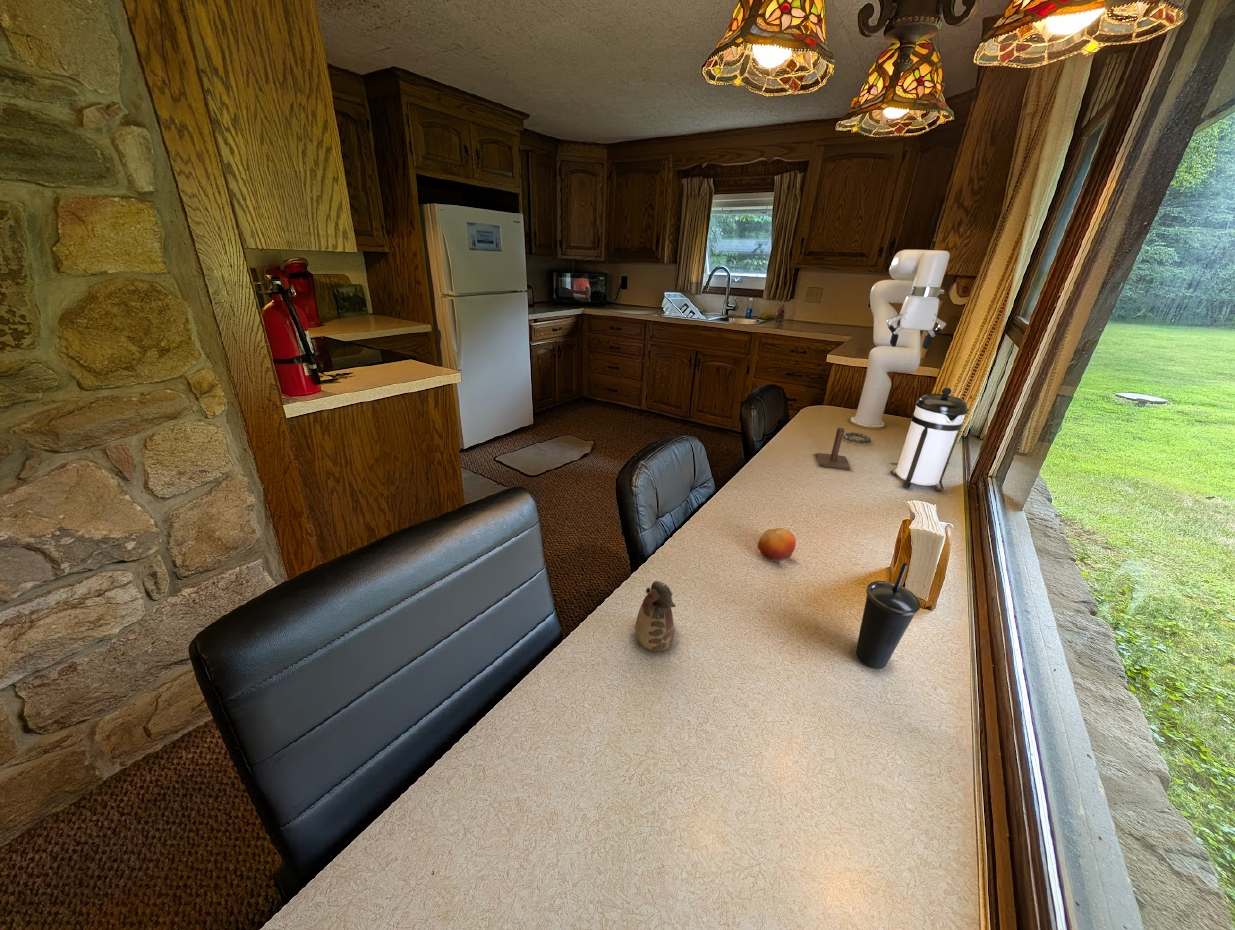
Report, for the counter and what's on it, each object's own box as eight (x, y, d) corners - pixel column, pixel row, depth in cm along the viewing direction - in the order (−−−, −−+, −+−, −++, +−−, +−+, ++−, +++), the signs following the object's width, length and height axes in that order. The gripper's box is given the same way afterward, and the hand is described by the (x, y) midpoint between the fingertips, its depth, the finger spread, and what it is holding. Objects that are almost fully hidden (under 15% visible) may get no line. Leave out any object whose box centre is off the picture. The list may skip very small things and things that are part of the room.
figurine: (682, 643, 81) (688, 589, 76) (648, 658, 78) (653, 603, 73) (659, 617, 87) (664, 565, 82) (627, 630, 84) (630, 577, 79)
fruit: (785, 569, 99) (775, 533, 99) (757, 568, 105) (748, 534, 106) (808, 557, 103) (799, 523, 103) (780, 557, 110) (771, 524, 110)
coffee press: (954, 485, 141) (991, 390, 128) (928, 498, 133) (964, 398, 120) (898, 464, 154) (926, 376, 141) (871, 474, 146) (898, 382, 133)
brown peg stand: (816, 455, 159) (824, 422, 153) (844, 459, 157) (853, 425, 151) (819, 466, 151) (828, 431, 145) (849, 470, 149) (858, 435, 143)
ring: (841, 434, 178) (842, 430, 177) (866, 437, 176) (868, 433, 175) (845, 443, 170) (846, 439, 169) (872, 446, 168) (873, 442, 167)
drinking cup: (901, 658, 80) (939, 565, 71) (886, 684, 75) (925, 587, 66) (856, 634, 84) (886, 543, 76) (839, 656, 80) (870, 563, 71)
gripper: (950, 293, 148) (933, 347, 155) (891, 290, 152) (877, 343, 159) (959, 295, 142) (941, 351, 149) (898, 292, 145) (883, 347, 152)
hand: (908, 347), depth 154 cm, fingers open, 9 cm apart
